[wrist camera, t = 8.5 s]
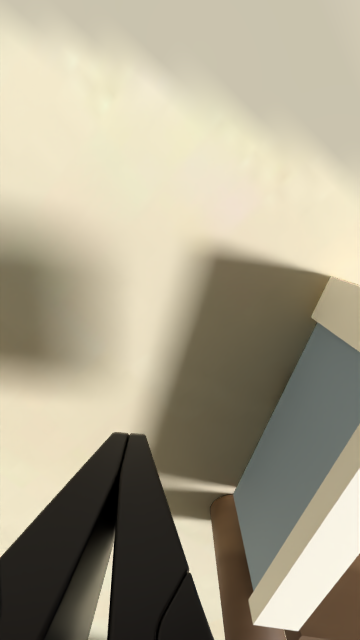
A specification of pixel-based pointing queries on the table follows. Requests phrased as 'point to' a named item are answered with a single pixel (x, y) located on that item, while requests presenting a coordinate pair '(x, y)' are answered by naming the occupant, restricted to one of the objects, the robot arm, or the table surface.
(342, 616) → the fence
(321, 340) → the gate
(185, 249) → the table surface
